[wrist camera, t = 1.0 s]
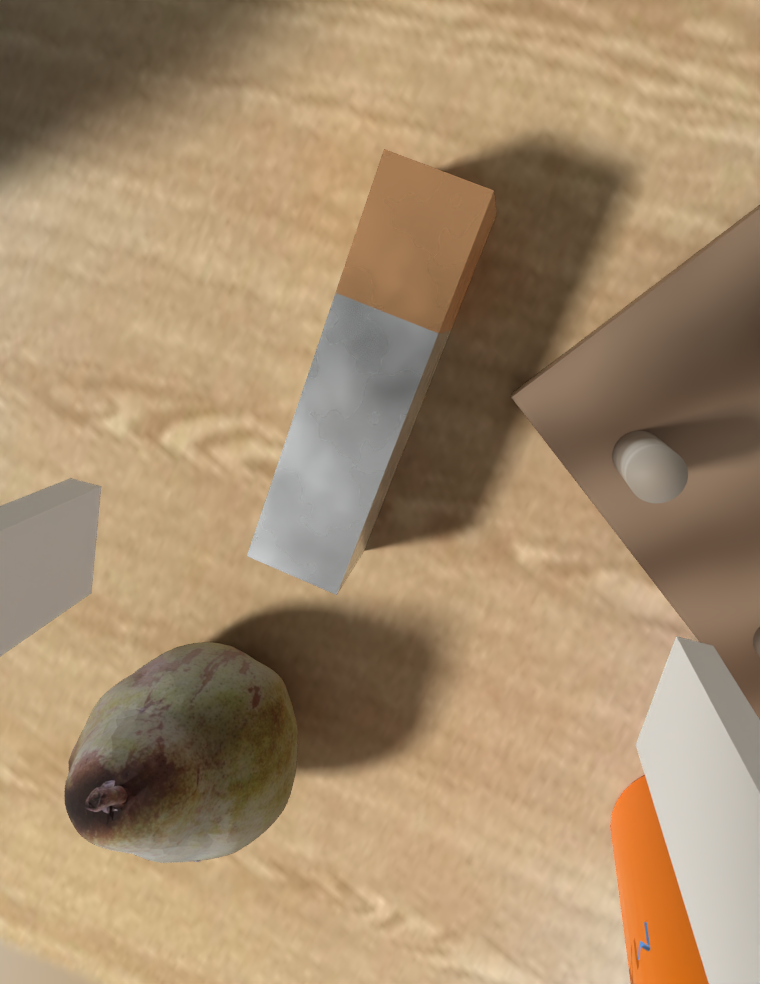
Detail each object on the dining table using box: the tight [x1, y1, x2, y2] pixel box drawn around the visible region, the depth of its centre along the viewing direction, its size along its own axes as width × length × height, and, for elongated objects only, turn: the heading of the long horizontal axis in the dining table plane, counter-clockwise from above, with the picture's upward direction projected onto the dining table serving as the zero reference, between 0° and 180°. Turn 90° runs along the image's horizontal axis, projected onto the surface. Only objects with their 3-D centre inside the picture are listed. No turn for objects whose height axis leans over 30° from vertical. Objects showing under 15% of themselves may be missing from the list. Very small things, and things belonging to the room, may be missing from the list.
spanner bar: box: [247, 149, 497, 595], centre depth 28 cm, size 16×4×6 cm, turn 159°
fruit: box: [65, 642, 298, 863], centre depth 31 cm, size 10×9×12 cm
